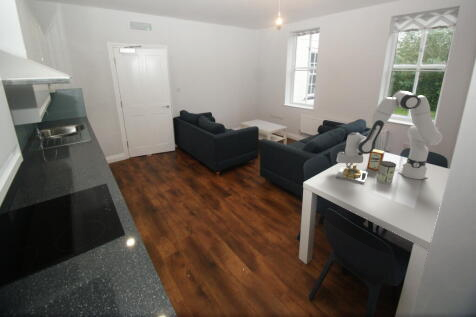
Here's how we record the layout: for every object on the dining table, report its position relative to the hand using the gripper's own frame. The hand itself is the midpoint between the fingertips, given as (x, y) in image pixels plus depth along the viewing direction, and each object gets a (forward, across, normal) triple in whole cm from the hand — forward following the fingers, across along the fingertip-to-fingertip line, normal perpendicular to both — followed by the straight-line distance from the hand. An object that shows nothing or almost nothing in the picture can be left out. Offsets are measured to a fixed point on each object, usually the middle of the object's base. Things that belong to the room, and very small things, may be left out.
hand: (348, 167), depth 192 cm
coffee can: (+4, +22, -16) cm, 27 cm away
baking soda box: (+4, +24, +7) cm, 26 cm away
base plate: (+4, 0, -9) cm, 10 cm away
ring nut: (+1, +1, -7) cm, 7 cm away
